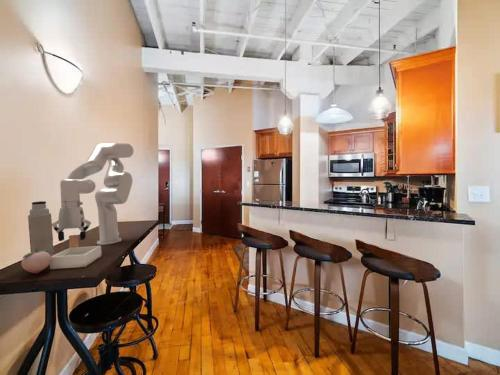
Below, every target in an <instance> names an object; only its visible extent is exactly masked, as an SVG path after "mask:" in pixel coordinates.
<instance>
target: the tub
mask: <svg viewBox="0 0 500 375" xmlns="http://www.w3.org/2000/svg"><path fill="white" fill-rule="evenodd" d="M102 254H103V253H102V245H93V246H92V245H91V246H79V247H72V248H70V247H68V248H66V249H63V250H61V251H59V252H58V253H54V255H53V256H51V261H50V265H49V269H50V270H57V269H58V270H59V269H71V268H73V269H74V268H85V267H87V266H89V265H90V264H92V263H93V262H95V261H96V260H98V259H99V258H101V257H102Z"/></svg>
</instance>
